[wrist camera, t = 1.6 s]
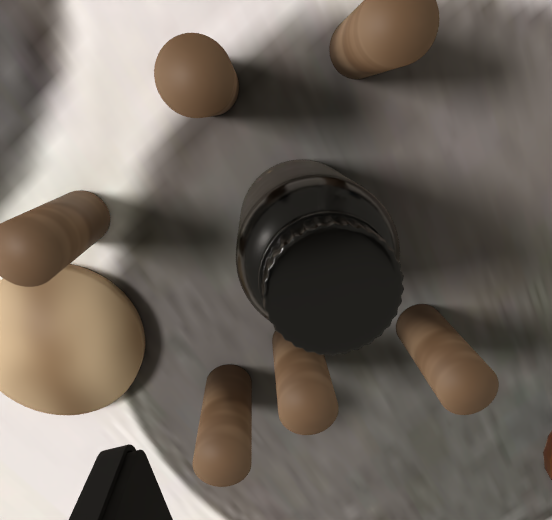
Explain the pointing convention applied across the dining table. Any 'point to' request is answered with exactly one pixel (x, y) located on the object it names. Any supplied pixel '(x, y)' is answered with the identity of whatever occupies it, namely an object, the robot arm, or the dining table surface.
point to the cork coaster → (68, 342)
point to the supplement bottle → (318, 257)
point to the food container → (548, 455)
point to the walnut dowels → (287, 358)
